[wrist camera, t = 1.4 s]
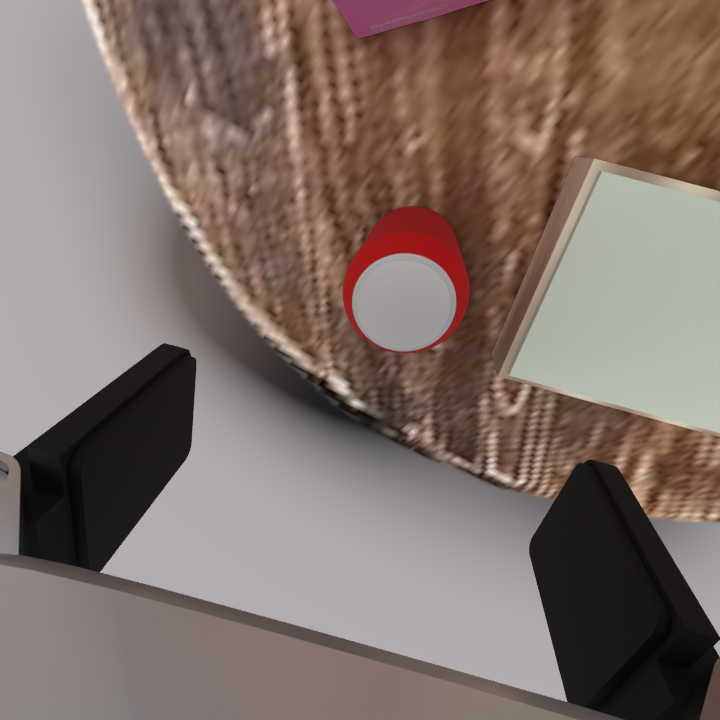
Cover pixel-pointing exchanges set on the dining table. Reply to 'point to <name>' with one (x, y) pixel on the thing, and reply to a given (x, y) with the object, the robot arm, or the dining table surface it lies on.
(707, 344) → the podium
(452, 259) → the beverage can
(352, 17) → the gum box
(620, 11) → the dining table surface
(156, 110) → the dining table surface
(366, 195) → the dining table surface
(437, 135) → the dining table surface
